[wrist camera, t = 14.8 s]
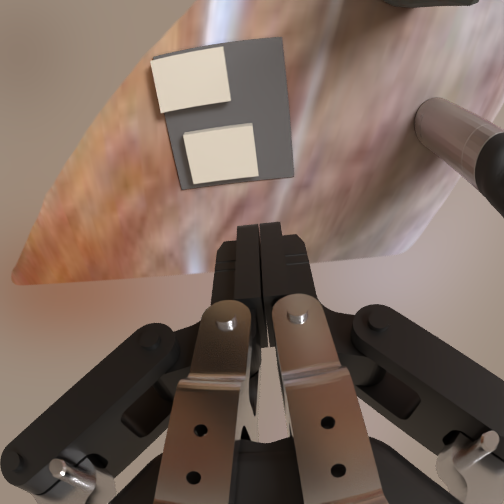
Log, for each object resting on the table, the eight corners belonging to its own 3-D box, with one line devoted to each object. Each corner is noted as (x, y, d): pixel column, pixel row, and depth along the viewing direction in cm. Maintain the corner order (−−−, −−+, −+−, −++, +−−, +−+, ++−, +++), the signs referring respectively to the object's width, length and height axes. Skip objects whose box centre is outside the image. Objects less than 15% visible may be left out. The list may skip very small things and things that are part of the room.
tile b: (252, 125, 42) (183, 135, 43) (258, 176, 47) (193, 184, 48) (252, 122, 44) (185, 132, 44) (258, 171, 48) (195, 179, 49)
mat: (281, 37, 36) (281, 37, 36) (293, 175, 49) (294, 176, 49) (153, 56, 37) (153, 57, 37) (182, 188, 50) (181, 189, 50)
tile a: (222, 46, 35) (150, 60, 36) (230, 100, 40) (160, 113, 40) (223, 46, 36) (153, 60, 37) (231, 98, 41) (163, 110, 42)
